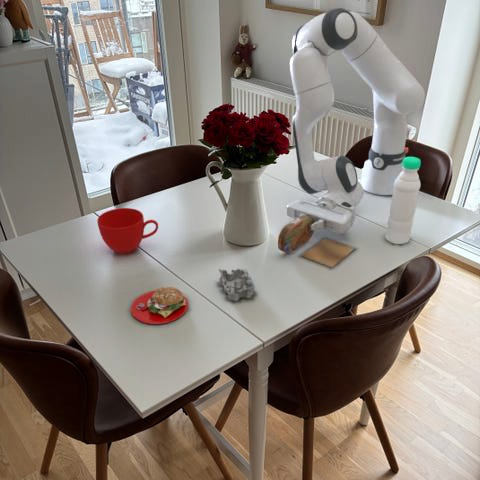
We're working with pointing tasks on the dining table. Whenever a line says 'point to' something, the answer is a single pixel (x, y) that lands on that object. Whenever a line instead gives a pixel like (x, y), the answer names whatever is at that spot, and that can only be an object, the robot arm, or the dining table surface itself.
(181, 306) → the hamburger
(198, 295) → the dining table surface
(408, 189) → the water bottle
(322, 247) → the cork mat
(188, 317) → the dining table surface
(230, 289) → the grey lumpy block
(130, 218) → the ceramic cup
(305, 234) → the tin
